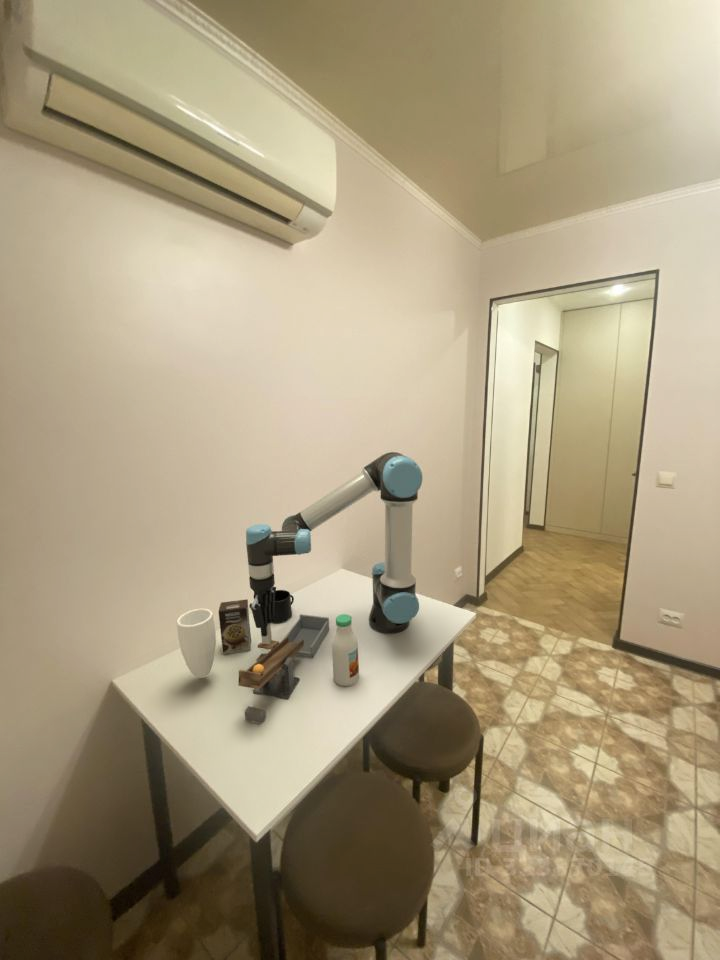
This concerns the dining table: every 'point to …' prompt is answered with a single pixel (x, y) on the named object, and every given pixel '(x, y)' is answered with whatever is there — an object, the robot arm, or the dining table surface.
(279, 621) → the mug
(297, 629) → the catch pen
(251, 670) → the lever
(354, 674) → the milk bottle
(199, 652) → the cup
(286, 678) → the fulcrum
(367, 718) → the dining table surface
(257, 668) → the ball
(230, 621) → the coffee box
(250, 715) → the block
